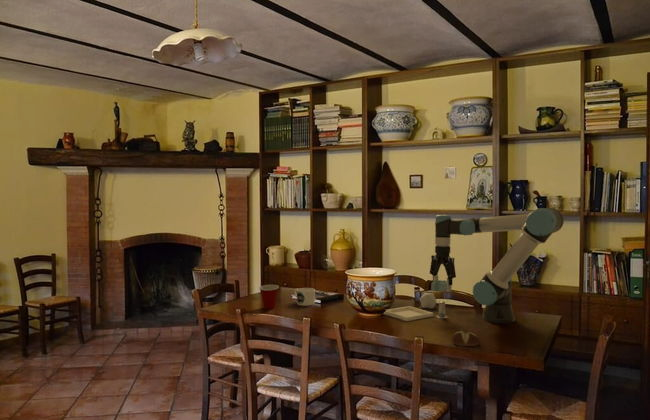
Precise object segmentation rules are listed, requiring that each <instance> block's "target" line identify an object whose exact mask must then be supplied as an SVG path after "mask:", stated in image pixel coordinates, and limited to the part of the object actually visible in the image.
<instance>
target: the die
mask: <svg viewBox="0 0 650 420" xmlns="http://www.w3.org/2000/svg"><path fill="white" fill-rule="evenodd" d="M419 302H420V305H421V307H422V308H424V309H434V307H435V306H436V304H437V303H438V302H437V299H436V297H435V293H433V292H423V293H422V295H421V297H420V298H419Z"/></svg>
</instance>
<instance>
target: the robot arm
mask: <svg viewBox="0 0 650 420" xmlns="http://www.w3.org/2000/svg"><path fill="white" fill-rule="evenodd" d="M564 222H565V221H564V215H563V214H562V213H561V211H560V210H558V209H557V208H554V207H546V208H545V207H540V208H537V209H534V210H532V211H531V212H530V213H524V214H521V213H520V214H512V215H511V214H510V215H500V216H498V215H497V216H487V217H473V218H465V219H453V218H451V215H450V214H437V215H436V216H435V223H434V225H435V231H434V232H435V237H434V238H435V239H434V240H435V241H434V244H435V247H434V253H435V254H434V255H431V257H430V258H431V261H430V269H429V274H430V275H432V283H433V282H434V281H437V280H439V274H438V273H439V270H440V268H441V266H443V267H444V270H445V273H446V276H447V277H446V281H447V291H446V292H447V293H449V292H453V290H452V285H453V279H454V278H457V275H456V269H455V268H456V267H455V266H456V265H455V257H451V256H450V253H451V236H452V235H457V236H458V235H459V236H473V235H474V234H482V233H497V232H498V233H499V232H512V231H513V232H515V231H522V233H521V234H520V235H519V236H518V238H517V239H516V240H515V242H514V243H513V244H512V245H511V247H509V249H508V250H507V252H506V253H505V254H504V256H503V257H502V258H501V259H500V260H499V262H498V263H497V265H496V266H495V267H494V268H493V270H491V271H490V270H489V271H487V272H486V273H485V274H484V275H483V276H482V278H481V279H480V280H478V281H477V282H475V284H474V285H473V286H472V295H473V298H474V300H475V301H476V302H477V303H478V304H480V305H482V306H485V307H484V310H483V313H482V320H483V321H486V322H489V323H493V324H501V325H503V324H506V325H507V324H513V323H515V321H516V320H515V319H516V318H515V314H514V310H513V307H512V285H513V281H512V280H513V279H512V278H513V277H514V276H515V275H516V273H517V272H518V270H519V269H521V267H522V266H523V264H525V262H526V261H527V259H528V258H529V257H530V256H531V255H532V254H533V252H534V251H535V249H536V248H537V247H538V246H539V244H545V243H546V242H547V240H548V239H549V238H550V237H551V236H552V234H554V233H557V232H559V231H560V230H561V228H562V227H563V226H564Z"/></svg>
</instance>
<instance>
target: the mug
mask: <svg viewBox="0 0 650 420" xmlns="http://www.w3.org/2000/svg"><path fill="white" fill-rule="evenodd" d="M293 293H294V296H295V298H296V304H297V305H298V306H301V307H302V306H306V307H308V306H313V305H315V302H316V301H315V300H316V298H315V297H316V289H315V288H312V287H302V288H301V287H299V288H294V290H293Z"/></svg>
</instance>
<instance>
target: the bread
mask: <svg viewBox="0 0 650 420" xmlns="http://www.w3.org/2000/svg"><path fill="white" fill-rule="evenodd" d="M451 341H452V343H453V344H454V345H455V346H457V345H459V346H458V347H465V346H474V347H476V346H478V345H479V344H480V339H479V337H478V335H477V334H476V333H473V332H472V331H467V332H466V333H465V332H464V331H463V330H458V331H456V332H454V333H453V336H452V340H451Z"/></svg>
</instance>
